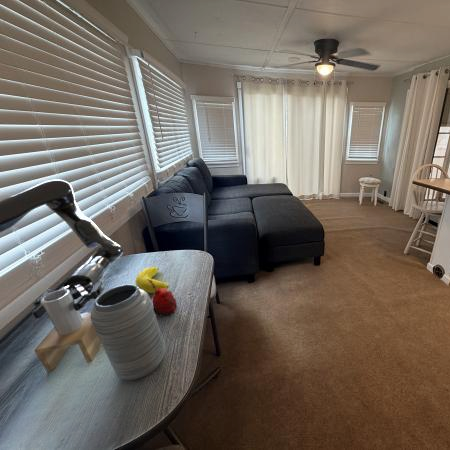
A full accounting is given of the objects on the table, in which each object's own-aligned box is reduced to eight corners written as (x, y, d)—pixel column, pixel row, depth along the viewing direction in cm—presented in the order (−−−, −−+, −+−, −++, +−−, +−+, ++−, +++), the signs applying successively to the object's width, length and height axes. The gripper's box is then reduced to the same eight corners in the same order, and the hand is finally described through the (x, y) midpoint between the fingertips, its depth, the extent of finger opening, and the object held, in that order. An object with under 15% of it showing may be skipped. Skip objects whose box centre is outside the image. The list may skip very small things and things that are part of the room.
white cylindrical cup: (53, 337, 64) (35, 304, 60) (64, 323, 69) (48, 291, 65) (78, 332, 65) (62, 299, 61) (87, 318, 70) (73, 287, 66)
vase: (115, 362, 65) (85, 293, 57) (162, 339, 72) (141, 275, 64) (119, 395, 57) (84, 320, 48) (172, 366, 64) (149, 296, 55)
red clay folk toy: (181, 309, 84) (172, 273, 79) (161, 321, 79) (150, 284, 73) (170, 301, 88) (160, 266, 83) (150, 313, 83) (138, 276, 77)
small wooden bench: (47, 372, 63) (33, 350, 60) (71, 337, 74) (61, 317, 71) (92, 361, 66) (81, 339, 63) (109, 329, 76) (101, 309, 74)
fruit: (157, 263, 108) (169, 282, 94) (158, 272, 109) (169, 293, 95) (131, 267, 101) (139, 289, 87) (132, 277, 102) (140, 300, 88)
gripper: (54, 272, 74) (14, 306, 59) (108, 264, 77) (83, 294, 63) (63, 292, 76) (28, 329, 62) (115, 283, 80) (93, 316, 66)
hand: (56, 311), depth 63 cm, fingers open, 8 cm apart
